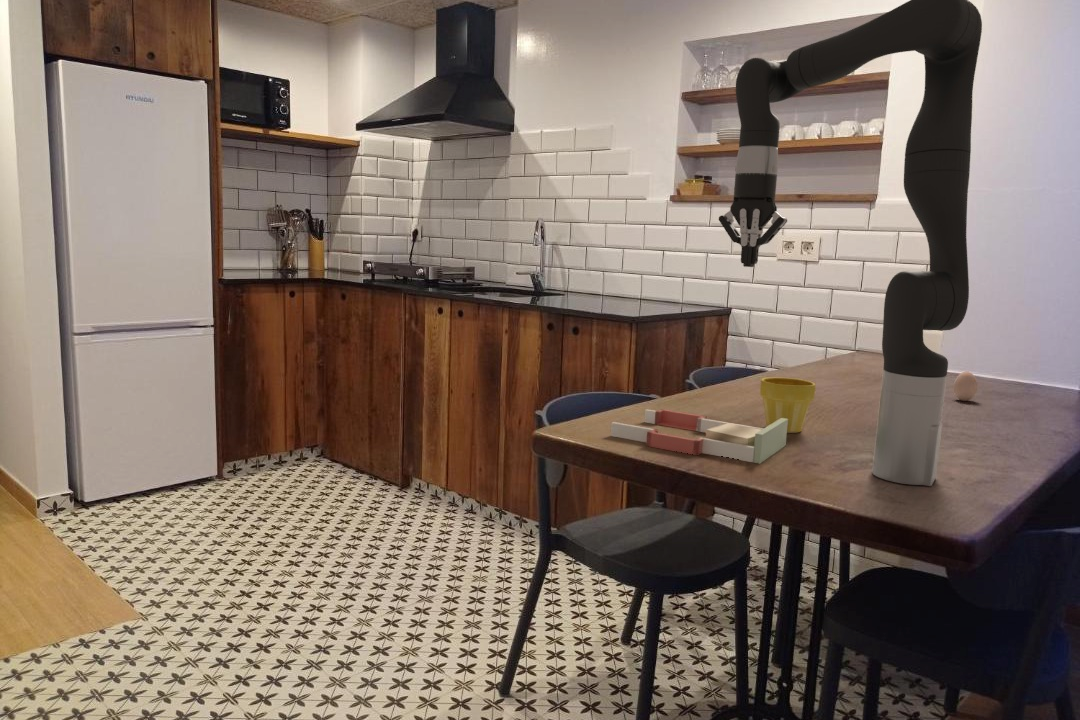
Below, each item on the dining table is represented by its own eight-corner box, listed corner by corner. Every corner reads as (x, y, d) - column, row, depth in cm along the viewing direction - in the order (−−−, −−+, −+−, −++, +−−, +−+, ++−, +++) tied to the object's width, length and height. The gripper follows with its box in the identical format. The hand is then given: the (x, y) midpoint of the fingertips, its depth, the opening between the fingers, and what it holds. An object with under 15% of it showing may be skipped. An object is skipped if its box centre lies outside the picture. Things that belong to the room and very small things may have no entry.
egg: (962, 403, 199) (966, 373, 198) (946, 398, 204) (950, 369, 203) (980, 402, 200) (984, 373, 199) (964, 398, 205) (968, 369, 204)
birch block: (767, 453, 144) (769, 431, 144) (745, 461, 138) (747, 438, 138) (726, 444, 149) (728, 423, 149) (704, 451, 143) (706, 429, 143)
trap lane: (788, 443, 151) (791, 416, 150) (755, 466, 134) (758, 437, 133) (650, 419, 165) (652, 395, 165) (605, 438, 149) (606, 411, 148)
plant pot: (765, 420, 169) (769, 374, 168) (816, 428, 164) (820, 381, 163) (750, 429, 160) (754, 381, 159) (803, 438, 155) (808, 388, 154)
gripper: (797, 174, 150) (789, 268, 153) (728, 174, 157) (721, 264, 160) (786, 171, 144) (777, 269, 147) (715, 171, 151) (708, 264, 154)
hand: (748, 266), depth 153 cm, fingers closed
